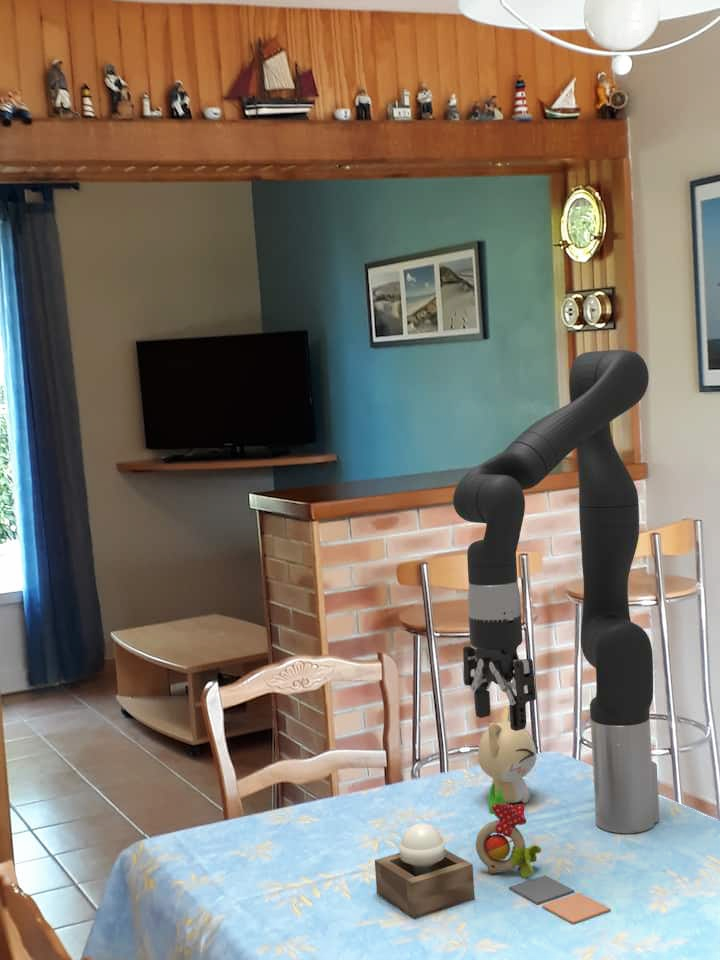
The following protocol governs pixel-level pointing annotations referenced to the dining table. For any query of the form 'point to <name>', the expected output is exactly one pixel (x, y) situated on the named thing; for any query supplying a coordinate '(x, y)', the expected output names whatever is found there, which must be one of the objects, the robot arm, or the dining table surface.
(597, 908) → the tile
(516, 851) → the bird rattle
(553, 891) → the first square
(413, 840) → the dome button
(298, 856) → the dining table surface
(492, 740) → the kitten
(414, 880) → the button frame
